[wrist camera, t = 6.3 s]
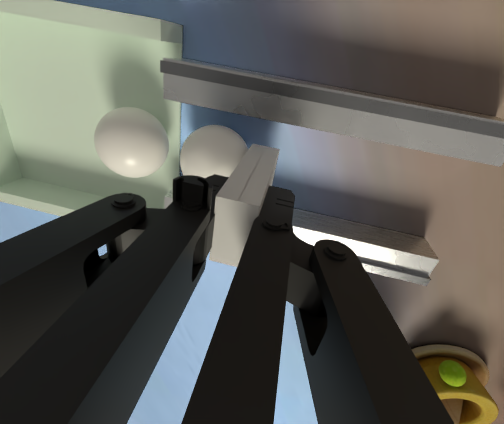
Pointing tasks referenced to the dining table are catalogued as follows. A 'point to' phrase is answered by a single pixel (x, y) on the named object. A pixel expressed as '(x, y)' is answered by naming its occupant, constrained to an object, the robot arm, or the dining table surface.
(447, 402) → the toy tea set
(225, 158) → the chip ball
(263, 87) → the slot rails
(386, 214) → the dining table surface
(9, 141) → the tray
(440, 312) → the dining table surface
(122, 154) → the chip ball
